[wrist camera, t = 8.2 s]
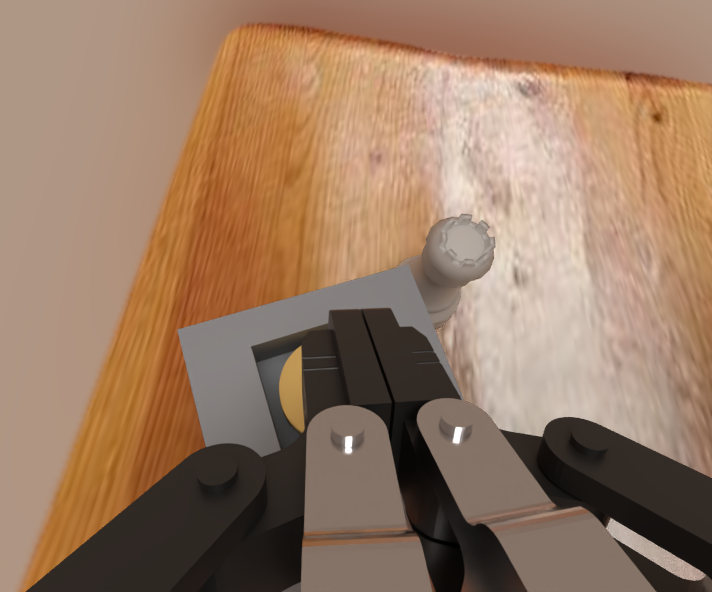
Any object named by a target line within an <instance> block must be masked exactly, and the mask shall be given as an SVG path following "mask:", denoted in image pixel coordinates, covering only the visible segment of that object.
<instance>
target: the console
mask: <svg viewBox="0 0 712 592" xmlns="http://www.w3.org/2000/svg"><path fill="white" fill-rule="evenodd" d="M365 308H391V309H392V311H393V313H394V316H395V318H396V320H397V322H398V324H399V326H400V327H407V326H412V327H414V328H415V329H416V330H418V331H419V332H420V333H422V334H423V335H425V336H426V337H427V339H428V341H429V342H430V344H431V346H432V348H433V349H434V353H436V355H437V357H438V358H439V360H440V363H441V364H442V365H443V367H444V369H445V371H446V373H447V374H448V376H449V378H450V380H451V381H452V383H453V385H454V387H455V389H456V390H457V392H458V394H459V396H460V397H461V399H462V400H463V401H464V399H463V397H462V394H461V392H460V389H459V387H458V385H457V382H456V380H455V377H454V375H453V372H452V370H451V367H450V365H449V363H448V360H447V358H446V355H445V353H444V350H443V348H442V345H441V343H440V341H439V338H438V336H437V333H436V331H435V328H434V326H433V323H432V321H431V319H430V316H429V314H428V311H427V309H426V306H425V304H424V301H423V299H422V297H421V294H420V292H419V289H418V287H417V284H416V282H415V279H414V277H413V275H412V272H411V270H410V267H409V265H404V266H401V267H397V268H394V269H390V270H387V271H383V272H380V273H376V274H372V275H369V276H365V277H362V278H358V279H355V280H351V281H348V282H344V283H341V284H337V285H334V286H330V287H326V288H323V289H319V290H316V291H312V292H309V293H305V294H302V295H298V296H295V297H291V298H287V299H284V300H280V301H277V302H273V303H270V304H266V305H263V306H259V307H256V308H252V309H249V310H245V311H241V312H238V313H234V314H231V315H227V316H224V317H220V318H217V319H213V320H210V321H206V322H203V323H199V324H195V325H192V326H188V327H185V328H181V329H178V334H179V339H180V343H181V347H182V351H183V355H184V359H185V363H186V367H187V371H188V375H189V380H190V384H191V388H192V392H193V396H194V400H195V404H196V408H197V412H198V417H199V421H200V425H201V429H202V433H203V437H204V441H205V445H206V447H208V446H212V445H216V444H222V443H233V444H240V445H244V446H246V447H249V448H251V449H252V450H254V451H256V452H257V453H258V454H259V455H260V457H263V456H266V455H269V454H271V453H274V452H277V451H279V450H282V449H284V448H286V447H287V446H289V445H290V444H292V443H293V442H294V441H296V440H297V439H298V438H299V437H300V434H299V433H297V432H296V431H295V430H294V429H293V428H292V427H291V426H290V425H289V423H288V422H287V420H286V418H285V416H284V414H283V411H282V407H281V401H280V395H279V382H280V376H281V373H282V369H283V367H284V365H285V363H286V361H287V360H288V358H289V357H290V356H291V354H292V353H293V352H294V351H295V350H296V349H297V348H299V347H300V346H301V343H302V341H303V340H304V338H305V337H306V335H307V333H308V332H309V331H316V330H328V318H329V310H340V309H365ZM400 495H401V500H402V505H403V510H404V511H405V504H404V501H403V498H402V494H401V493H400ZM282 592H301V582H299V583H297V584H295V585H293V586H291V587H289V588H288V589H286V590H284V591H282Z"/></svg>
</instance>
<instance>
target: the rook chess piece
mask: <svg viewBox="0 0 712 592" xmlns="http://www.w3.org/2000/svg"><path fill="white" fill-rule="evenodd" d="M471 219H472V215H469V214H461V215H460V217H459V218H458V217H450V218H446V219H443V220H440V221H439V222H438V223H436V224H435V225H434V226H433V227H432V228H431V229H430V232H429V234H428V236H427V238H426V245H425V247H424V250H423V252H422V255H417V256H414V257H411V258H407V259H405V260H403V261H402V262H401V263H400V264H399V265H398V266H396V267H395V268H397V267H401V266H404V265H409V267H410V270H411V272H412V275H413V277H414V279H415V282H416V284H417V287H418V289H419V292H420V294H421V297H422V299H423V301H424V304H425V306H426V309H427V311H428V314H429V316H430V319H431V321H432V323H433V326H434V328H438V327H441V326H442V325H443V324H444V323H445V322H446V321H447V320H449V319H450V318H451V316H452V315H453V314H454V313H455V312H456V309H457V306H458V304H459V301H460V298H461V292H460V287H462V286H465V285H466V284H467V283H468V282H470V281H473V280H476V279H479V278H481V277H482V276H483V275H484V274H486V273H487V272H488V271H489V270H490V268H491V265H492V262H493V260H494V251H493V249H494V248H495V237H489V236H488V234H487V233H486V231H487V230H488V229H489V228H490V227H489V226H488V225H487V224H486V223H485V222H484V221H483V220H481V221H480V223H479V224H476V223H474V222H472V221H471Z"/></svg>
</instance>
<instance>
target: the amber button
mask: <svg viewBox="0 0 712 592" xmlns="http://www.w3.org/2000/svg"><path fill="white" fill-rule="evenodd" d="M279 395H280V401H281V407H282V411H283V414H284V416H285V418H286V420H287V422H288V423H289V425H290V426H291V427H292V428H293V429H294V430H295V431H296V432H297V433H299V434H300V435H301V434H302V433H303V431H304V429H305V428H304V414H303V400H302V355H301V346H300V347H299V348H297V349H296V350H295V351H294V352H293V353H292V354H291V356H290V357H289V358H288V360H287V361H286V363H285V365H284V367H283V369H282V373H281V376H280V382H279Z"/></svg>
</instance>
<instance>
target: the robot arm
mask: <svg viewBox="0 0 712 592" xmlns="http://www.w3.org/2000/svg"><path fill="white" fill-rule="evenodd" d="M301 355H302V400H303V414H304V428H305V429H304V431H303V433H302V434H301V435H300V437H299V438H298V439H297V440H296V441H294V442H293V443H292V444H290V445H289V446H287V447H286V448H284V449H282V450H279V451H277V452H274V453H271V454H269V455H266V456H263V457H260V455H259V454H258V453H257V452H256V451H254V450H252V449H251V448H249V447H246V446H244V445H240V444H233V443H222V444H216V445H212V446H208V447H205V448H203V449H201V450H198V451H197V452H195V453H193V454H191V455H190V456H189V457H187V458H186V459H185V460H184V461H182V462H181V463H180V464H179V465H177V466H176V467H175V468H174V469H173V470H171V471H170V472H169V473H168V474H167V475H165V476H164V477H163V478H162V479H161V480H159V481H158V482H157V483H156V484H155V485H153V486H152V487H151V488H150V489H149V490H147V491H146V492H145V493H144V494H143V495H141V496H140V497H139V498H138V499H137V500H135V501H134V502H133V503H132V504H131V505H129V506H128V507H127V508H126V509H125V510H123V511H122V512H121V513H120V514H119V515H117V516H116V517H115V518H114V519H113V520H111V521H110V522H109V523H108V524H107V525H105V526H104V527H103V528H102V529H101V530H99V531H98V532H97V533H96V534H95V535H93V536H92V537H91V538H90V539H89V540H87V541H86V542H85V543H84V544H83V545H81V546H80V547H79V548H78V549H76V550H75V551H74V552H73V553H72V554H70V555H69V556H68V557H67V558H66V559H64V560H63V561H62V562H61V563H60V564H58V565H57V566H56V567H55V568H54V569H52V570H51V571H50V572H49V573H48V574H46V575H45V576H44V577H43V578H42V579H40V580H39V581H38V582H37V583H36V584H34V585H33V586H32V587H31V588H30V589H28V590H27V591H26V592H282V591H284V590H286V589H288V588H289V587H291V586H293V585H295V584H297V583H299V582H301V592H712V478H710V477H708V476H706V475H704V474H702V473H700V472H698V471H695V470H693V469H691V468H689V467H687V466H685V465H683V464H681V463H679V462H677V461H674V460H672V459H670V458H668V457H666V456H664V455H662V454H660V453H658V452H656V451H653V450H651V449H649V448H647V447H645V446H643V445H641V444H639V443H637V442H635V441H632V440H630V439H628V438H626V437H624V436H622V435H620V434H618V433H616V432H614V431H611V430H609V429H607V428H605V427H603V426H601V425H599V424H596V423H594V422H591V421H588V420H585V419H580V418H574V417H563V418H558V419H554V420H553V421H551V422H549V423H548V424H547V426H546V428H545V430H544V433H543V437H539V436H533V435H527V434H521V433H515V432H509V431H505V430H501V429H498V427H497V426H496V424H495V423H494V422H493V420H492V419H491V418H490V417H489V415H488V414H487V413H486V412H484V411H483V410H482V409H480V408H479V407H477V406H475V405H473V404H471V403H469V402H466V401H463V400H462V399H461V397H460V396H459V394H458V392H457V390H456V389H455V387H454V385H453V383H452V381H451V380H450V378H449V376H448V374H447V373H446V371H445V369H444V367H443V365H442V364H441V363H440V360H439V358H438V357H437V355H436V353H434V349H433V348H432V346H431V344H430V342H429V341H428V339H427V337H426V336H425V335H423V334H422V333H420V332H419V331H418V330H416V329H415V328H414V327H412V326H407V327H400V326H399V324H398V322H397V320H396V318H395V316H394V313H393V311H392V309H391V308H365V309H340V310H329V318H328V330H316V331H309V332H308V333H307V335H306V337H305V338H304V340H303V341H302V343H301ZM400 493H401V494H402V498H403V501H404V504H405V511H404V510H403V505H402V500H401V495H400ZM610 518H612V519H614V520H615V521H617V522H619V523H621V524H622V525H624V526H626V527H627V528H629V529H631V530H632V531H634V532H636V533H638V534H639V535H641V536H643V537H644V538H646V539H648V540H650V541H651V542H653V543H655V544H656V545H658V546H660V547H661V548H663V549H665V550H667V551H668V552H670V553H672V554H673V555H675V556H677V557H679V558H680V559H682V560H684V561H685V562H687V563H689V564H690V565H692V566H694V567H696V568H697V569H699V570H700V571H702V572H703V573H705V574H706V576H705V577H704V578H703V579H701V580H697V581H690V580H686V579H682V578H680V577H678V576H676V575H674V574H672V573H670V572H669V571H667V570H666V569H664V568H662V567H661V566H659V565H657V564H656V563H654V562H652V561H651V560H649V559H647V558H646V557H644V556H643V555H641V554H639V553H638V552H636V551H634V550H633V549H631V548H629V547H628V546H626V545H625V544H623V543H621V542H620V541H618V540H616V539H615V538H613V537H612V536H611V535H610V533H609V532H608V531H607V530H606V527H607V525H608V523H609V520H610Z"/></svg>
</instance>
